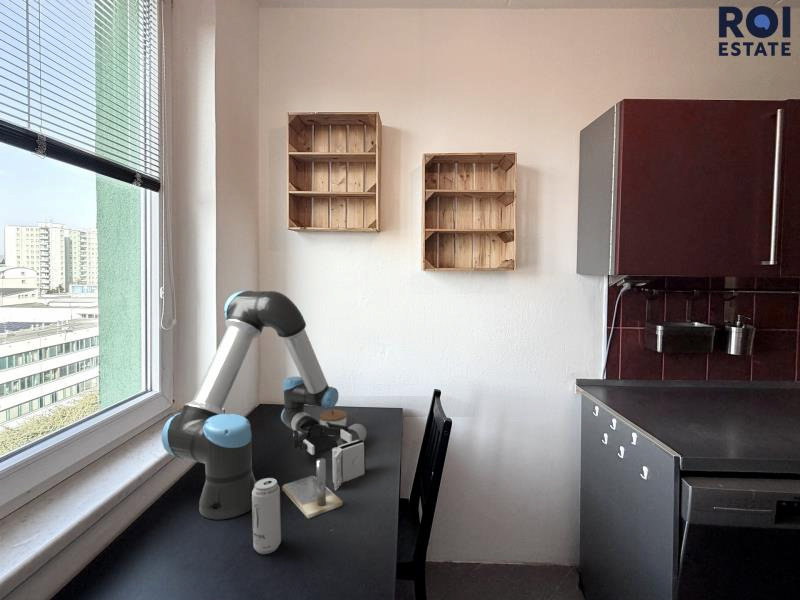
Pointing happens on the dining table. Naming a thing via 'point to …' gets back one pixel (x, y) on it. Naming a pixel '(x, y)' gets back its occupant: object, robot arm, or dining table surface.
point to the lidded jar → (333, 417)
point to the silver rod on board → (311, 486)
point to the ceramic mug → (354, 433)
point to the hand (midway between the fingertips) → (332, 444)
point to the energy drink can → (266, 516)
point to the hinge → (348, 462)
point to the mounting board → (312, 507)
